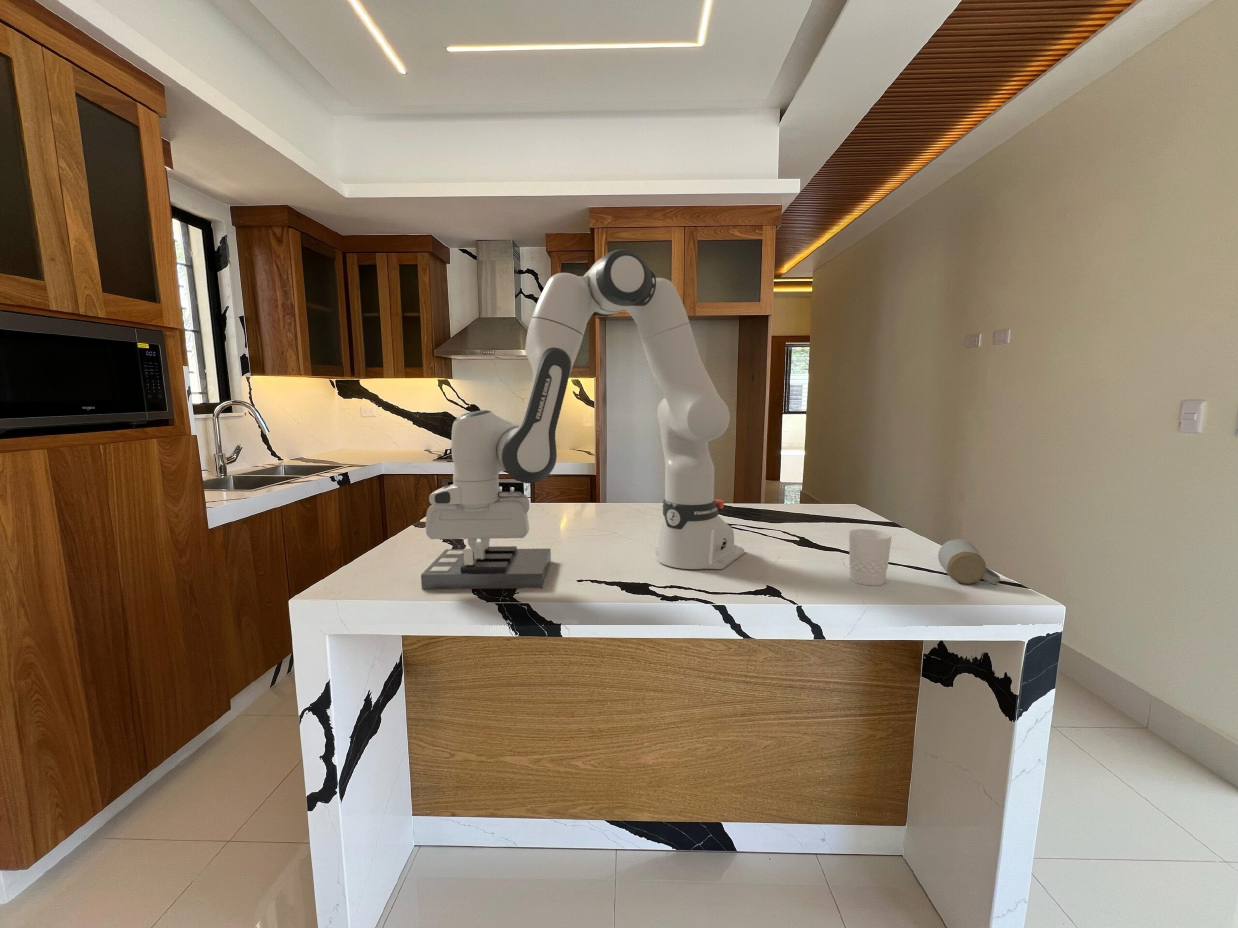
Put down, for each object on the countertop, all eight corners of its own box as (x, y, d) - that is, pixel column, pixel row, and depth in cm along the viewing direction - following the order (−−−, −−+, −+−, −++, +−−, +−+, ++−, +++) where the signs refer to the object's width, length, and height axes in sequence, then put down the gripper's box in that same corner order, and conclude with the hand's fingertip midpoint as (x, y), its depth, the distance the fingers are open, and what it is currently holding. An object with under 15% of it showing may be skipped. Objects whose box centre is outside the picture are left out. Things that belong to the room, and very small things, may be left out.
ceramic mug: (945, 583, 113) (949, 547, 112) (936, 570, 121) (939, 536, 119) (1005, 590, 110) (1010, 553, 109) (991, 576, 117) (996, 541, 116)
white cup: (877, 590, 109) (881, 541, 108) (839, 579, 115) (842, 533, 114) (894, 580, 115) (898, 534, 113) (857, 571, 120) (860, 526, 119)
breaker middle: (483, 553, 119) (483, 538, 119) (481, 556, 117) (481, 541, 117) (475, 553, 119) (475, 538, 119) (473, 556, 117) (472, 541, 117)
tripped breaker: (475, 561, 114) (475, 546, 113) (473, 564, 112) (472, 549, 111) (466, 561, 114) (466, 546, 113) (464, 564, 112) (463, 549, 111)
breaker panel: (550, 561, 127) (550, 544, 127) (542, 587, 111) (541, 568, 110) (446, 561, 127) (445, 545, 126) (421, 589, 110) (420, 569, 110)
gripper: (530, 488, 114) (532, 553, 116) (431, 489, 113) (434, 554, 115) (526, 494, 108) (528, 563, 110) (420, 495, 107) (424, 564, 109)
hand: (479, 558), depth 112 cm, fingers closed
